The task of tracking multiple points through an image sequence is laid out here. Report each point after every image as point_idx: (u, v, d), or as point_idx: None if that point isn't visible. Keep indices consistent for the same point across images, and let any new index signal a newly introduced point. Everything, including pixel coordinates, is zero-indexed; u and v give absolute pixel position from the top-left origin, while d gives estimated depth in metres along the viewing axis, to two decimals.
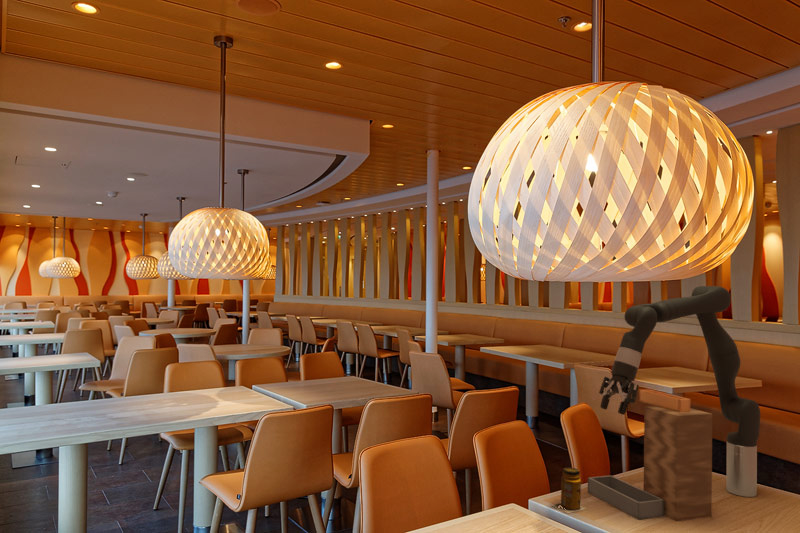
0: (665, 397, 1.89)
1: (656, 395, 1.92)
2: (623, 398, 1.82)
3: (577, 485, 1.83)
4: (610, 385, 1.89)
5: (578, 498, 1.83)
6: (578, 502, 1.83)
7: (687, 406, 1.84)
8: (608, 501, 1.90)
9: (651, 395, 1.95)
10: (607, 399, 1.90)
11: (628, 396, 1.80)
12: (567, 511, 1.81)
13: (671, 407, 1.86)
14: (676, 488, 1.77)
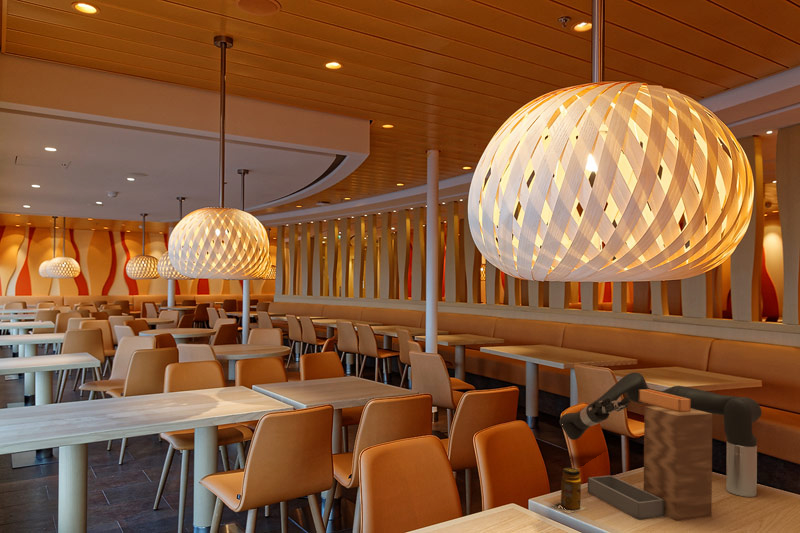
0: (665, 397, 1.89)
1: (656, 395, 1.92)
2: (602, 408, 2.14)
3: (577, 485, 1.83)
4: (613, 410, 2.18)
5: (578, 498, 1.83)
6: (578, 502, 1.83)
7: (687, 406, 1.84)
8: (608, 501, 1.90)
9: (651, 395, 1.95)
10: (622, 401, 2.16)
11: (596, 409, 2.14)
12: (567, 511, 1.81)
13: (671, 407, 1.86)
14: (676, 488, 1.77)
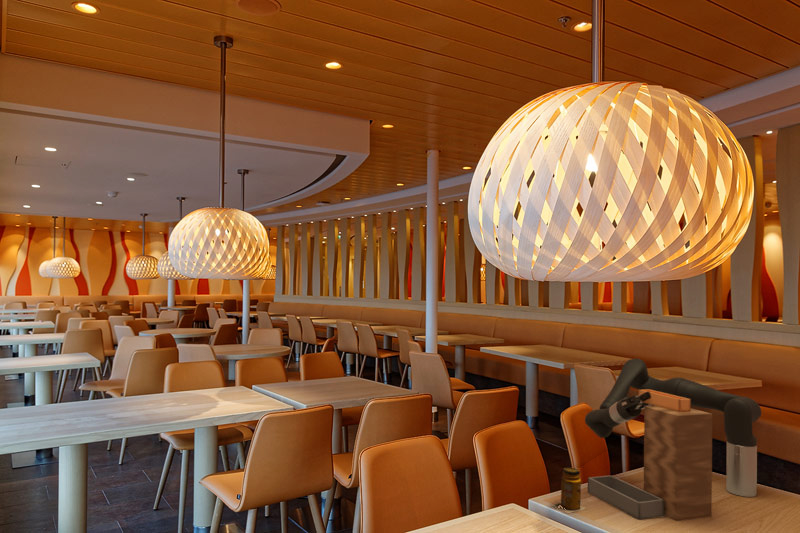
0: (665, 397, 1.89)
1: (656, 395, 1.92)
2: (640, 402, 1.98)
3: (577, 485, 1.83)
4: (645, 406, 2.02)
5: (578, 498, 1.83)
6: (578, 502, 1.83)
7: (687, 406, 1.84)
8: (608, 501, 1.90)
9: (651, 395, 1.95)
10: None
11: (634, 403, 1.98)
12: (567, 511, 1.81)
13: (671, 407, 1.86)
14: (676, 488, 1.77)
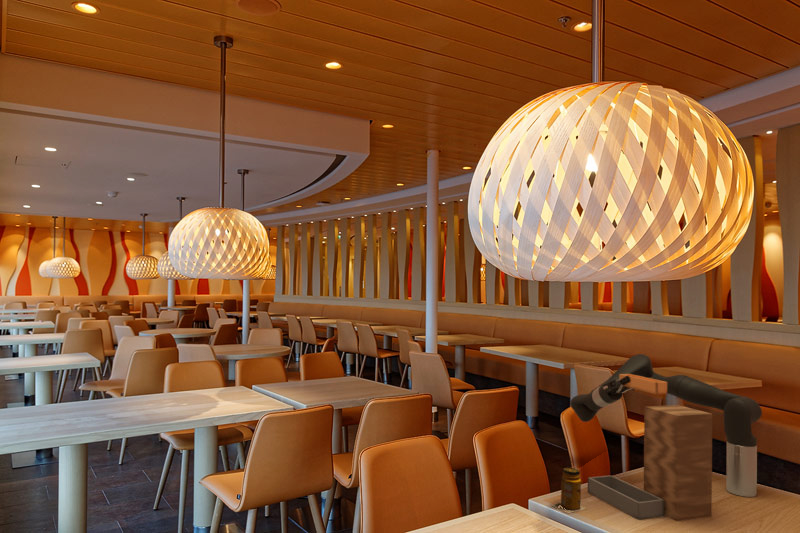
0: (643, 380, 1.98)
1: (635, 379, 2.02)
2: (620, 386, 2.07)
3: (577, 485, 1.83)
4: (626, 390, 2.11)
5: (578, 498, 1.83)
6: (578, 502, 1.83)
7: (664, 388, 1.93)
8: (608, 501, 1.90)
9: (631, 379, 2.04)
10: None
11: (615, 387, 2.07)
12: (567, 511, 1.81)
13: (649, 390, 1.95)
14: (676, 488, 1.77)
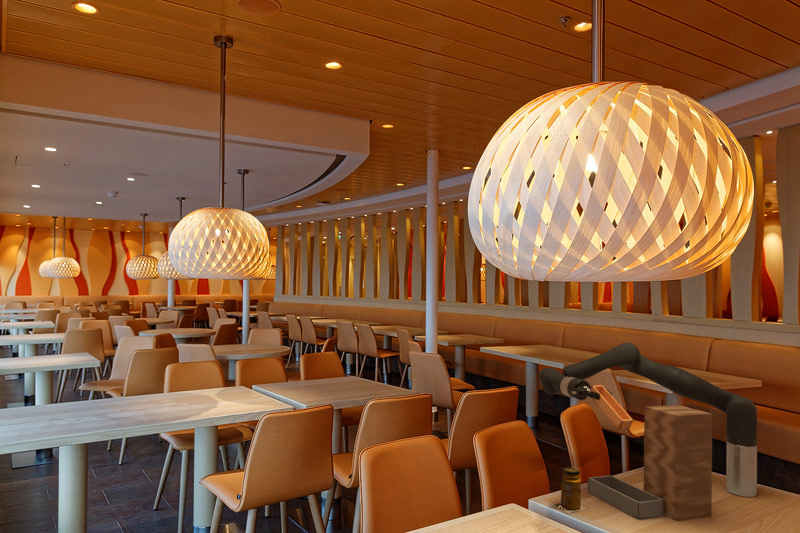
0: (611, 409, 1.94)
1: (604, 402, 1.97)
2: None
3: (577, 485, 1.83)
4: None
5: (578, 498, 1.83)
6: (578, 502, 1.83)
7: (627, 425, 1.91)
8: (608, 501, 1.90)
9: (600, 398, 1.99)
10: None
11: None
12: (567, 511, 1.81)
13: (613, 421, 1.93)
14: (676, 488, 1.77)
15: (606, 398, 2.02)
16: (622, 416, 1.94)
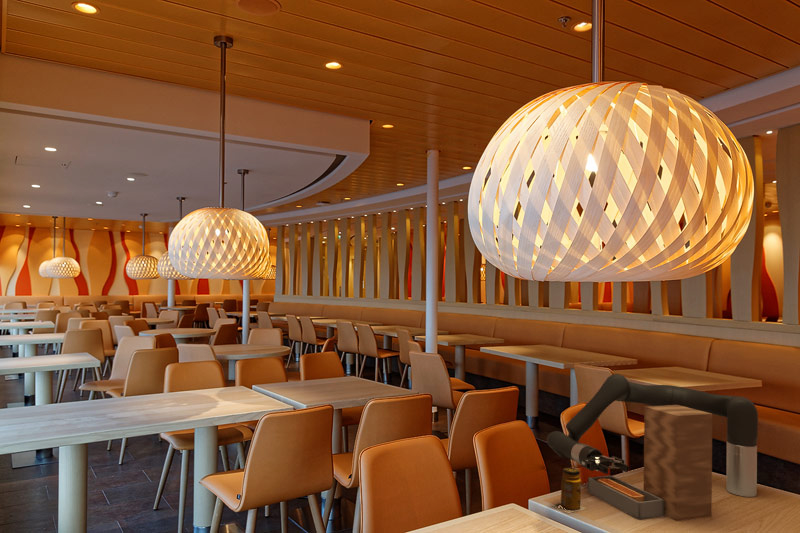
0: (620, 492, 1.89)
1: (612, 488, 1.92)
2: None
3: (577, 485, 1.83)
4: (607, 467, 2.01)
5: (578, 498, 1.83)
6: (578, 502, 1.83)
7: None
8: (608, 501, 1.90)
9: None
10: (620, 465, 1.98)
11: None
12: (567, 511, 1.81)
13: None
14: (676, 488, 1.77)
15: (614, 488, 1.97)
16: None
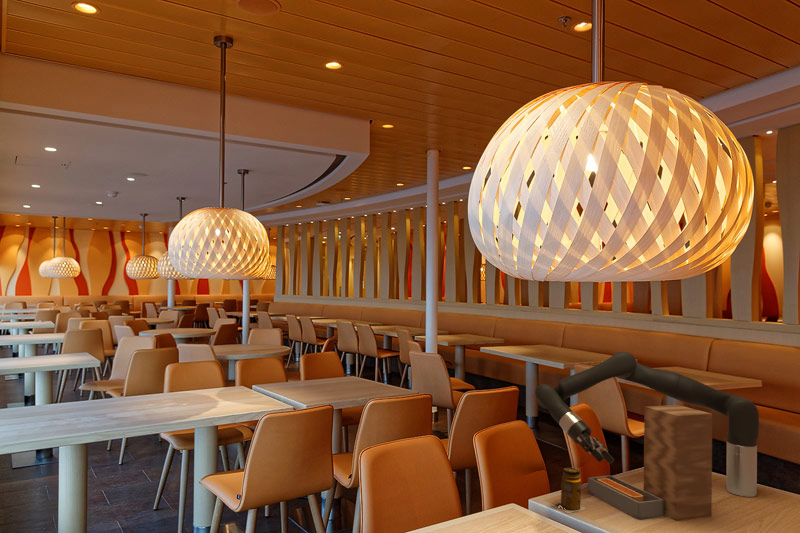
0: (620, 492, 1.89)
1: (612, 488, 1.92)
2: None
3: (577, 485, 1.83)
4: None
5: (578, 498, 1.83)
6: (578, 502, 1.83)
7: None
8: (608, 501, 1.90)
9: None
10: (605, 454, 2.03)
11: None
12: (567, 511, 1.81)
13: None
14: (676, 488, 1.77)
15: (614, 488, 1.97)
16: None
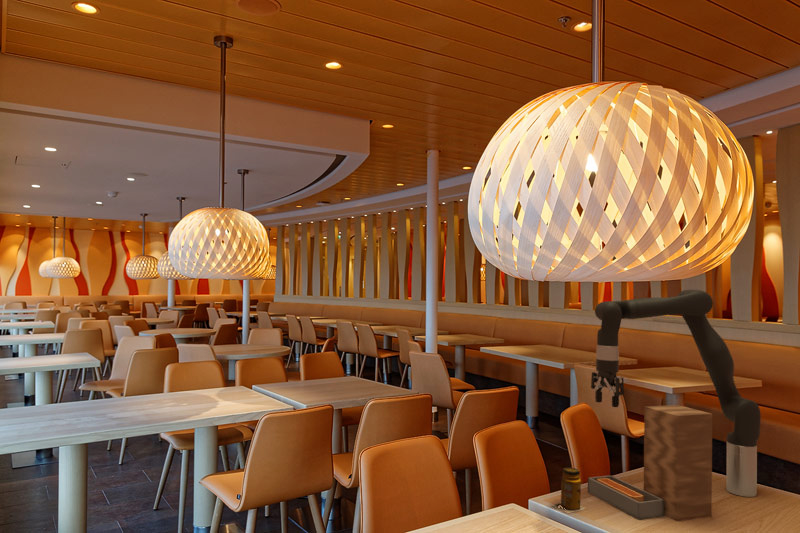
0: (620, 492, 1.89)
1: (612, 488, 1.92)
2: (613, 393, 1.98)
3: (577, 485, 1.83)
4: (599, 381, 2.04)
5: (578, 498, 1.83)
6: (578, 502, 1.83)
7: None
8: (608, 501, 1.90)
9: None
10: (600, 392, 2.06)
11: (617, 391, 1.96)
12: (567, 511, 1.81)
13: None
14: (676, 488, 1.77)
15: (614, 488, 1.97)
16: None
